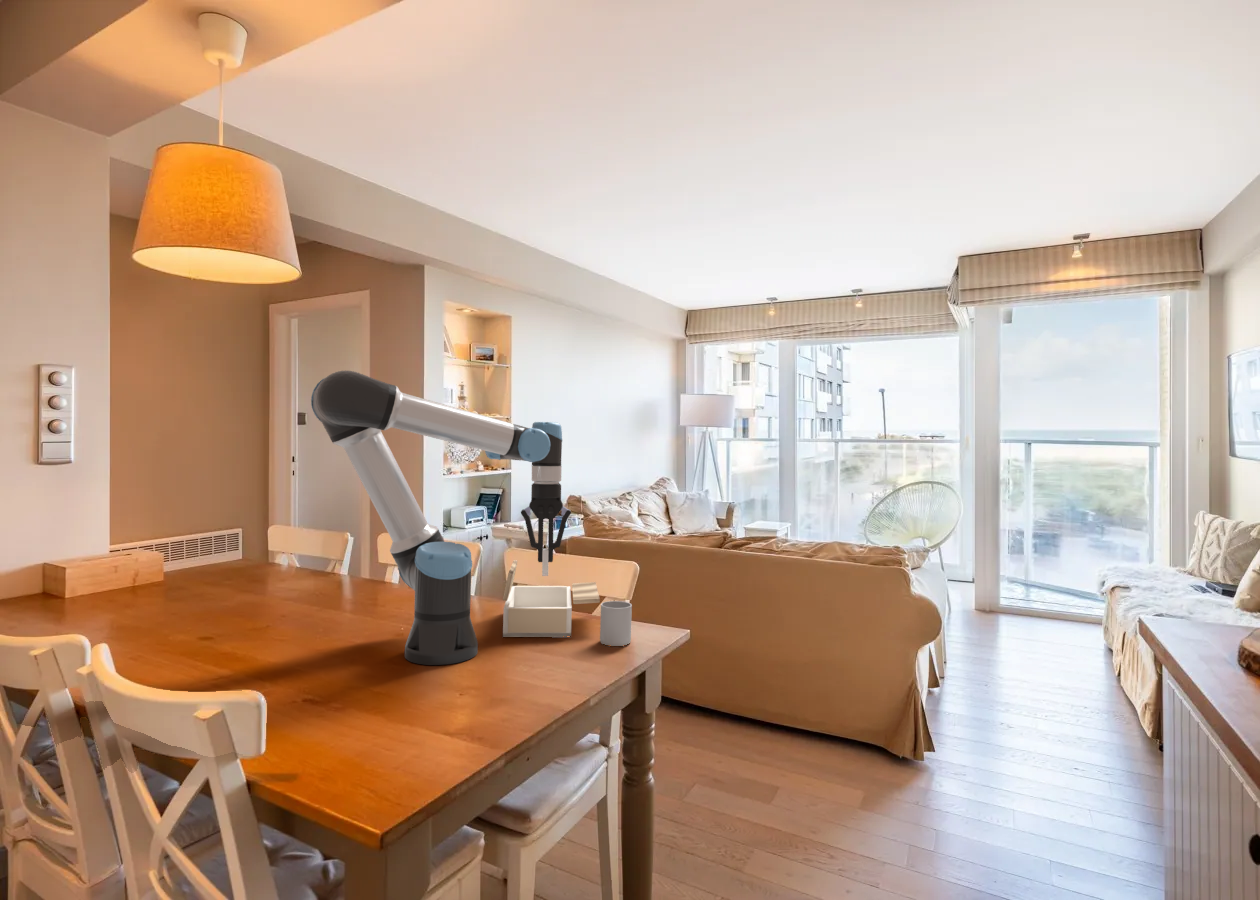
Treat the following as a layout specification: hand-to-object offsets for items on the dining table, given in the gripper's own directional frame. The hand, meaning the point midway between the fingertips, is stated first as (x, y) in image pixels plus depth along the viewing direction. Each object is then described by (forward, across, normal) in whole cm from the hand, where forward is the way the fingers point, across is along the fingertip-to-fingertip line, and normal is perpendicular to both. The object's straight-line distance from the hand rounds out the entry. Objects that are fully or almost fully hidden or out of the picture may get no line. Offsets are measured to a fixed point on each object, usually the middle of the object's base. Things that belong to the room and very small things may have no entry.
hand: (545, 574), depth 169 cm
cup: (+13, -18, +15) cm, 27 cm away
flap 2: (+4, -10, 0) cm, 11 cm away
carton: (+13, +2, 0) cm, 13 cm away
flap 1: (+1, +8, 0) cm, 8 cm away
